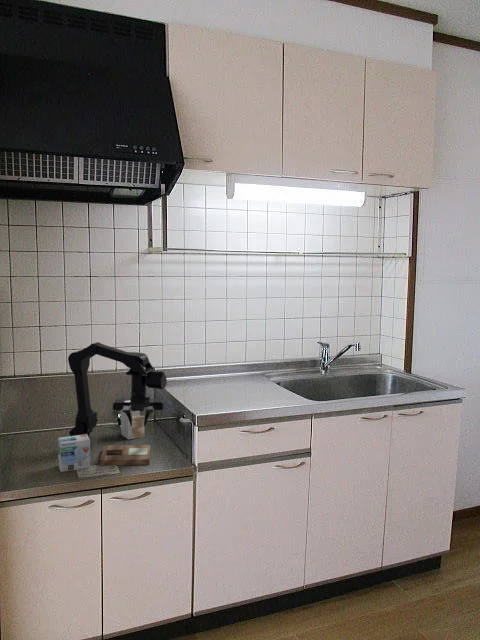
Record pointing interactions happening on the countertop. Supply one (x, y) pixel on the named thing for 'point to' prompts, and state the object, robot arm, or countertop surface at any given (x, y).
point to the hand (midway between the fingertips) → (138, 426)
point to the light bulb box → (73, 452)
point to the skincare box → (127, 424)
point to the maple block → (138, 426)
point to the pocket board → (125, 455)
